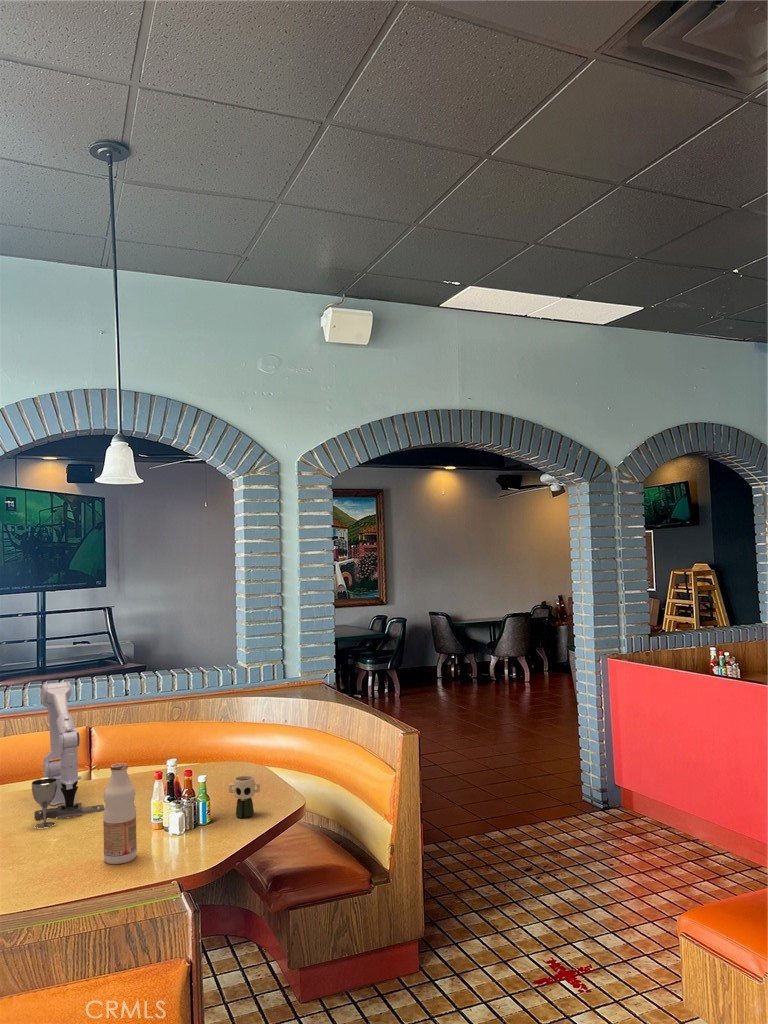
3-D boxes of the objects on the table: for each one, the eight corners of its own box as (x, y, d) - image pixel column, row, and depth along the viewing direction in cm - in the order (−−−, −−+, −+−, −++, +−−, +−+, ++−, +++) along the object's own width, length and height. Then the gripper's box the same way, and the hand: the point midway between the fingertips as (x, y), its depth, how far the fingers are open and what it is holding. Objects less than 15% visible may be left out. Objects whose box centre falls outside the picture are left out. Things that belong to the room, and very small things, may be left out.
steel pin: (62, 814, 276) (62, 789, 277) (72, 811, 279) (72, 786, 280) (68, 816, 274) (68, 790, 274) (78, 813, 277) (78, 788, 277)
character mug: (227, 819, 265) (226, 781, 266) (231, 812, 272) (230, 775, 273) (258, 819, 265) (258, 780, 266) (262, 812, 272) (261, 774, 273)
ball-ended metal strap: (33, 822, 268) (33, 815, 269) (34, 815, 276) (34, 809, 276) (104, 812, 277) (104, 805, 277) (103, 806, 285) (103, 799, 285)
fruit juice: (107, 867, 227) (106, 770, 229) (100, 857, 235) (99, 764, 237) (140, 860, 232) (138, 765, 234) (132, 850, 240) (131, 758, 242)
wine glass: (62, 823, 267) (62, 779, 268) (43, 831, 260) (43, 785, 261) (45, 820, 271) (45, 776, 271) (26, 828, 263) (26, 783, 264)
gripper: (81, 769, 272) (81, 808, 271) (81, 759, 286) (81, 797, 285) (59, 772, 270) (60, 811, 269) (60, 762, 283) (60, 799, 282)
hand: (69, 804), depth 277 cm, fingers open, 5 cm apart
